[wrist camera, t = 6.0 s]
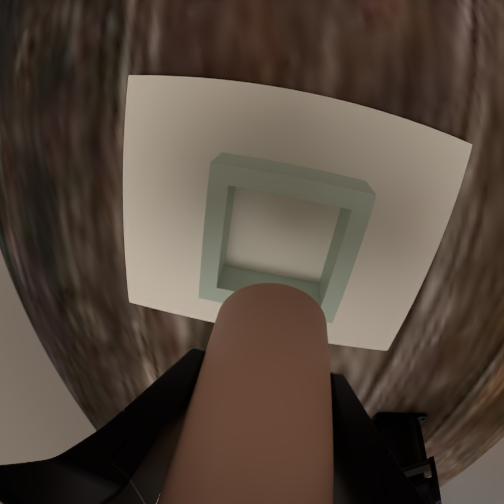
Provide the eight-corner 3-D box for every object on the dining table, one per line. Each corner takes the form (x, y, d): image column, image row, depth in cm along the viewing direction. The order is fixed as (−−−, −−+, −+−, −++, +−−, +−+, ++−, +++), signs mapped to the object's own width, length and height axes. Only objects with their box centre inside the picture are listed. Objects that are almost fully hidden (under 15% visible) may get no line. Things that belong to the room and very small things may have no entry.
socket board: (465, 141, 15) (494, 154, 12) (384, 341, 23) (392, 375, 20) (136, 75, 16) (106, 75, 13) (134, 294, 24) (115, 322, 21)
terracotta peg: (341, 294, 10) (363, 548, 3) (310, 371, 12) (301, 564, 5) (222, 272, 11) (134, 520, 4) (213, 353, 12) (158, 542, 6)
